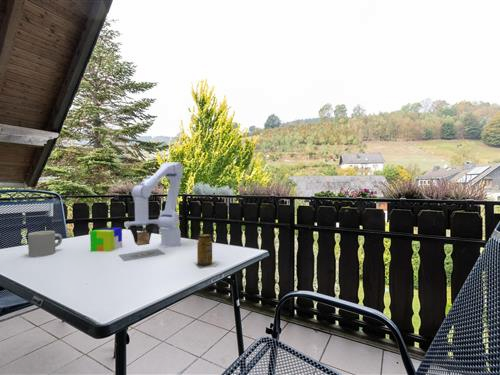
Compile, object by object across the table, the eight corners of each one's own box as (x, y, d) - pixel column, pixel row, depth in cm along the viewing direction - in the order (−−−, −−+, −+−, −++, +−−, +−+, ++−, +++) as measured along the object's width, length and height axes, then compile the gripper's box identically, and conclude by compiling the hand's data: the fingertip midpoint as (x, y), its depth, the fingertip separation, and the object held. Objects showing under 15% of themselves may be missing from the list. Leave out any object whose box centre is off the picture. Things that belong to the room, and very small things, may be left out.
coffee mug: (32, 258, 119) (31, 235, 119) (25, 254, 125) (25, 233, 125) (67, 251, 130) (66, 231, 129) (59, 248, 136) (58, 228, 135)
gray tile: (157, 249, 134) (157, 248, 134) (166, 254, 124) (166, 254, 124) (118, 255, 123) (118, 254, 123) (124, 262, 114) (124, 261, 114)
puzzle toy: (122, 247, 139) (121, 227, 139) (110, 252, 129) (109, 231, 129) (103, 246, 140) (103, 227, 140) (90, 251, 130) (90, 231, 130)
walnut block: (146, 241, 127) (146, 231, 127) (149, 243, 123) (149, 233, 123) (135, 243, 124) (134, 232, 124) (138, 245, 120) (137, 234, 120)
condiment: (210, 260, 116) (210, 232, 116) (216, 266, 109) (216, 236, 108) (193, 262, 113) (193, 234, 113) (199, 268, 105) (198, 238, 105)
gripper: (126, 213, 116) (127, 245, 116) (160, 211, 124) (160, 240, 125) (122, 212, 121) (123, 242, 122) (155, 209, 130) (155, 237, 130)
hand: (142, 241), depth 124 cm, fingers closed on walnut block, 5 cm apart
